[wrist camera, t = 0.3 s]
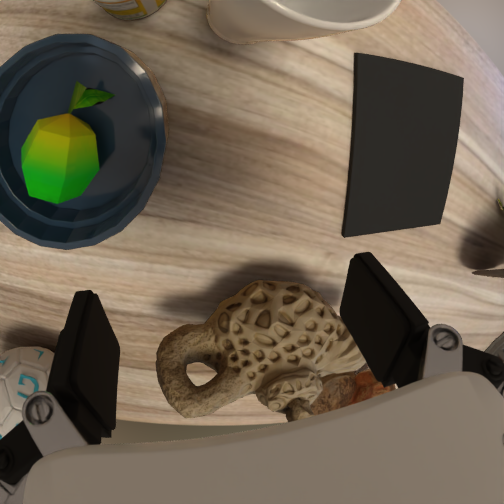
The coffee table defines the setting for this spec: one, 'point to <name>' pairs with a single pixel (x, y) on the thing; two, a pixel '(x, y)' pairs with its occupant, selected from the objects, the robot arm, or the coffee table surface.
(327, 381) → the sculpture
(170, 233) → the coffee table surface
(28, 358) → the puzzle ball
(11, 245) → the coffee table surface
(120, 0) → the supplement bottle
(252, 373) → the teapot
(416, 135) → the mat
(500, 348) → the lantern
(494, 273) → the potted plant
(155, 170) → the bowl
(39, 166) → the apple
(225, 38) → the drinking glass
